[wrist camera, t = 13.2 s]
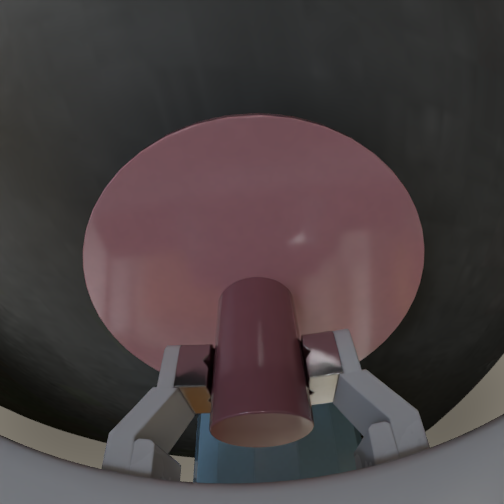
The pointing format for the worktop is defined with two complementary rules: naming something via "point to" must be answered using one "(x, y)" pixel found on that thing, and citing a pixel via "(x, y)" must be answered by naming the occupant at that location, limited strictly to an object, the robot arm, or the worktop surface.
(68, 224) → the worktop surface
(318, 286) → the cover plate
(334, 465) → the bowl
